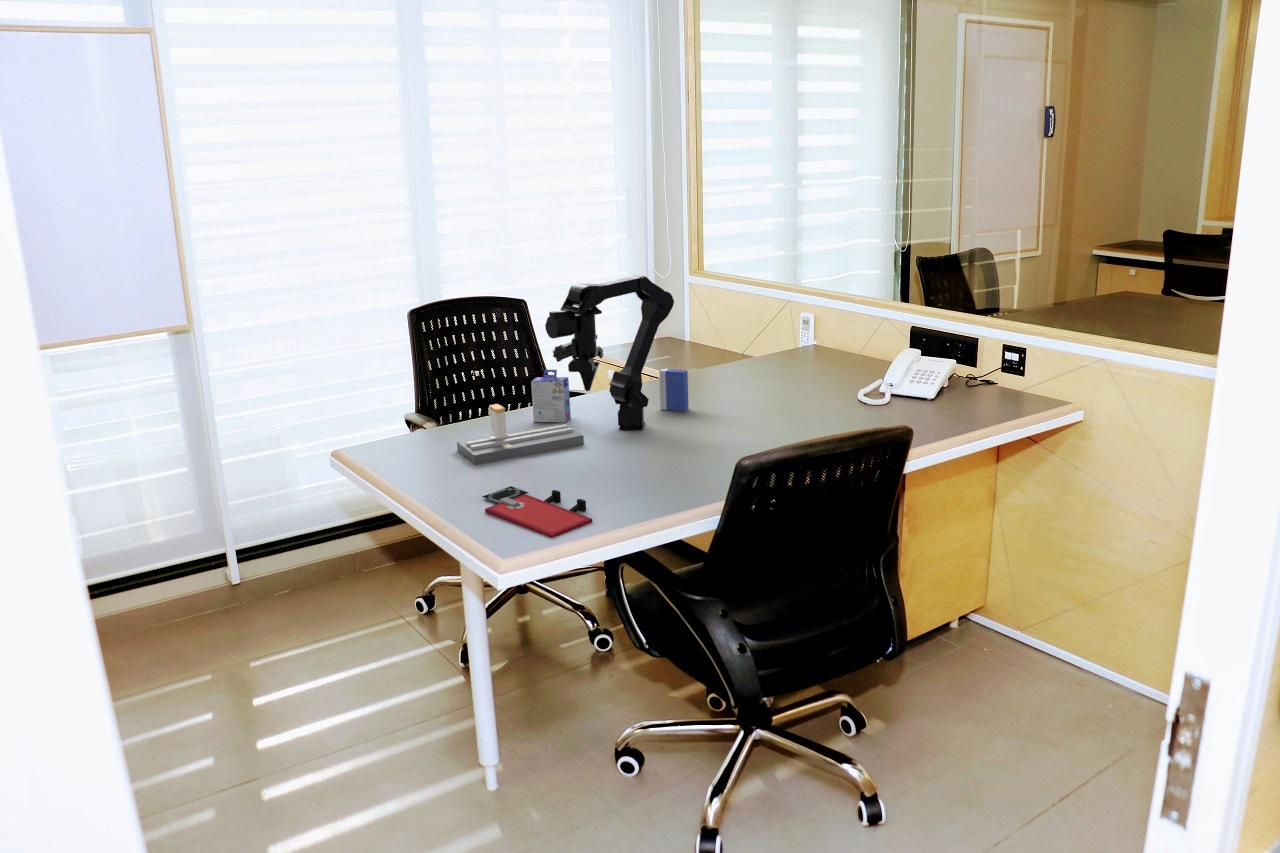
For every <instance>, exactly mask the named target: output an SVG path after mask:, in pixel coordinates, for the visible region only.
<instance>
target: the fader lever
mask: <svg viewBox="0 0 1280 853" xmlns="http://www.w3.org/2000/svg"><path fill="white" fill-rule="evenodd" d="M488 407H489V408H488V409H489V416H490V417H489V418H490V428H491V429H490V431H489V434H491V435H493V436H494V437H496V438H497V441H498V440H502V438H504V437H508V434H507V433H508V432H507V423H506V422H507V420H506V408H505V407H504V406H503V405H500V404H499V403H494V404H489V406H488Z"/></svg>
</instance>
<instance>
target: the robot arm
mask: <svg viewBox="0 0 1280 853" xmlns="http://www.w3.org/2000/svg"><path fill="white" fill-rule="evenodd" d="M633 293H634V294H635V295H636V296H637V298H638V299H639V300H641V306H640V310H641V321H640V324H639V326H638V329H637V332H636V335H635V337H634V340H633V342H632V345H631V347H630V350H629V354H628V356H627V359H626V361H625V364H624V367H623V368H622V369H621V370H620V371H618V370H615V371H614V372H613V374H612V378H611V380H610V382H609V383H608V385H610V386H609V393H610V396H611V397H612V399H613V400H614V402H615V405H619V409H618V411H617V424H618V426H619V427H618V429H619V430H621V431H622V430H623V431H624V430H625V431H626V430H627V431H629V430H630V431H631V430H633V431H634V430H635V431H637V430H638V431H640V430H641V431H642V430H644V427H645V424H646V421H645V414H644V413H645V412H644V411H645V410H644V408H645V407H648V405H649V400H650V399H649V398H648V397H647V395H645V394H644V393H643V392H642V390H643V389H642V388H643V379H642V378H643V377H642V372H643V370H644V367H645V365H646V361H647V359H648V356H649V353H650V350H651V348H652V345H653V342H654V339H655V337H656V334H657V331H658V329H659V327H660V324H662V323H663V322H664V320H666V319H667V318H668V317H669V316H670V315H669V314H670V313H671V311H672V309H673V307H674V304H675V300H674V297H673V294H672V293H671V292H669V291H665V290H664V289H663V288H662V287H660V286H659V285H657V284H655V283H654V282H652V281H651V280H650V279H649V278H648V277H647V276H645V275H638V274H634V275H631V276H629V277H625V278H620V279H616V280H610V281H607V282H602V283H575V284H572V285H571V286H570V288H569V290H568V294H567V296H566V298H565V300H564V302H563V304H562V305H561V307H560V310H558V311H557V310H556V311H555V310H551V311H549V313H548V315H549V316H548V317H547V319H546V320H545V321H546V322H545V325H544V326H545V331H546V333H547V335H548V337H549V338H551V339H558V338H564V337H569V336H573V338H572V339H571V341H570V342H567V343H564V344H559V345H557V346H555V347H554V349H553V350H552V357H553V358H554V359H555V361H556V362H558V363H559V362H561V361H563V360H564V359H568V358H569V357H571V358H572V359H571V360H570V361H569V363H568V365H567V366H568V372H569V373H579V375H580V378H581V380H582V385H583V387H584V390H585V391H586V392H590V391H591V389H592V386H593V383H594V379H595V377H596V374H597V371H598V368H599V366H600V364H601V363H600V362H599V361H595V359H596V357H599V359H603V357H604V349H603V348H602V347H601V346H600V345H599V346H597V340H598V334H597V332H596V315H602V313H603V312H602V310H601V309H600V308H599V307H598V305H600V304H602V303H603V302H604V301H606V300H608V299H612V298H617V297H620V296H624V295H625V296H626V295H628V294H629V295H630V294H633ZM594 358H595V359H594Z"/></svg>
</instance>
